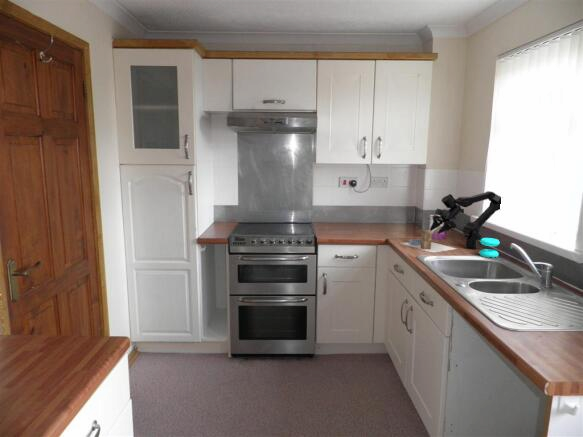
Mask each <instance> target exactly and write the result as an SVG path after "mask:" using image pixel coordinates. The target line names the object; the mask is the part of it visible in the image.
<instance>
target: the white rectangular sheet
mask: <svg viewBox="0 0 583 437" xmlns="http://www.w3.org/2000/svg"><path fill="white" fill-rule="evenodd" d="M400 244H401V245H403V246H404V245H405V246H407V247H411V248H415V249H419V250H422V251H426V252H430V253H437V252H438V253H439V252H445V251H446V252H447V251H452V250H457V248H455V247H452V246H448V245H444V244H440V243H436V242H433V241H431V249H425V250H424V249H422V248H421V246H419V245H411V244H410V241H409V242H406V241H405V242H400Z"/></svg>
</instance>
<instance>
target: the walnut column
mask: <svg viewBox="0 0 583 437" xmlns="http://www.w3.org/2000/svg"><path fill="white" fill-rule="evenodd" d="M420 231H421V235H420V240H421V248H422V249H424V250H423V251H425V249H431V242H432V239H431V238H432V231H429V229H425V230H424V229H422V230H420Z"/></svg>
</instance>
